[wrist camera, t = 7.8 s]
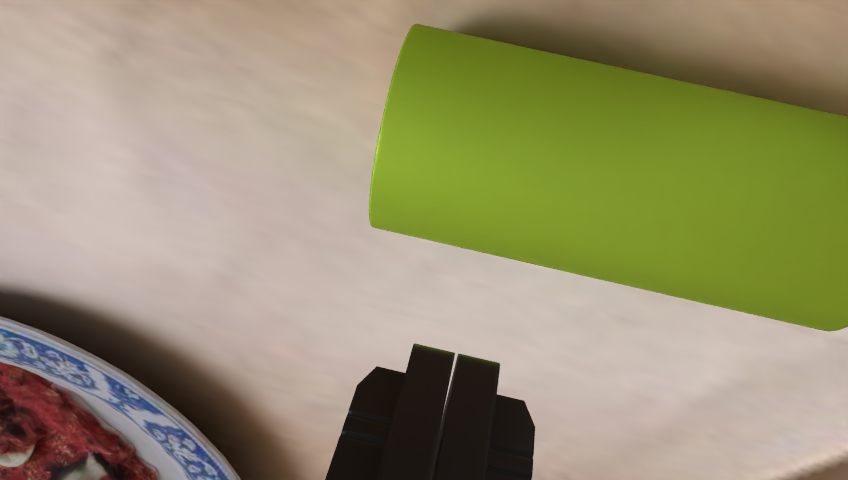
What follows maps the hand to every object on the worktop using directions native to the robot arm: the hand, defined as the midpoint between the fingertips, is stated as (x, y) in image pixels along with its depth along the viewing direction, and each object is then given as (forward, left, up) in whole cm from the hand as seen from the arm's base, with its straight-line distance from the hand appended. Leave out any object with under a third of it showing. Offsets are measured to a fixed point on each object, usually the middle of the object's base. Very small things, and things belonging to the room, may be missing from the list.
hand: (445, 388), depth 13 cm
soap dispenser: (0, -3, -10) cm, 10 cm away
